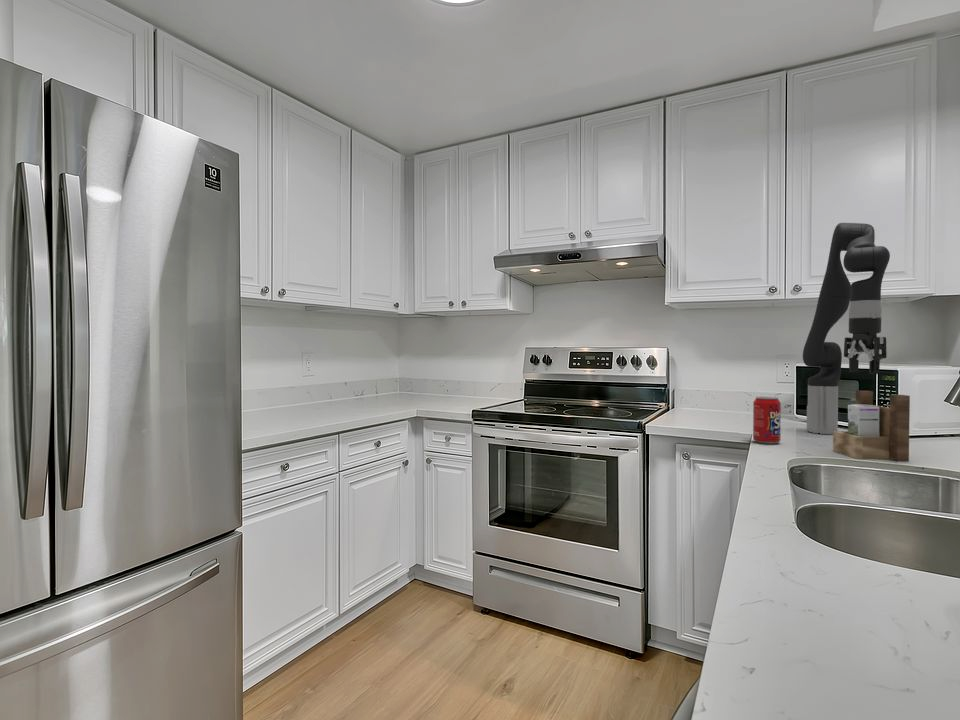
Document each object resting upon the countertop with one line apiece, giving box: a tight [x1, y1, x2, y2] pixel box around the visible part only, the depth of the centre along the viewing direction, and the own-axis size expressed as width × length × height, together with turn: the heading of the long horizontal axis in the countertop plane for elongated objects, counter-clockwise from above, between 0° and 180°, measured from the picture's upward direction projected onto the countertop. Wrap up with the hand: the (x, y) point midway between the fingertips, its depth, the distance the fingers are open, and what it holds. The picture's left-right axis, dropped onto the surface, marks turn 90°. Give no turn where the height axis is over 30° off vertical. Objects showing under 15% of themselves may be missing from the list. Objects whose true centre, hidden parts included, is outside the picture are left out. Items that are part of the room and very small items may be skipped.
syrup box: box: [847, 403, 879, 437], centre depth 148 cm, size 6×6×14 cm
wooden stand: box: [832, 390, 911, 462], centre depth 148 cm, size 17×12×18 cm
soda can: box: [752, 396, 782, 445], centre depth 168 cm, size 8×8×15 cm
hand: (863, 373), depth 147 cm, fingers open, 8 cm apart
